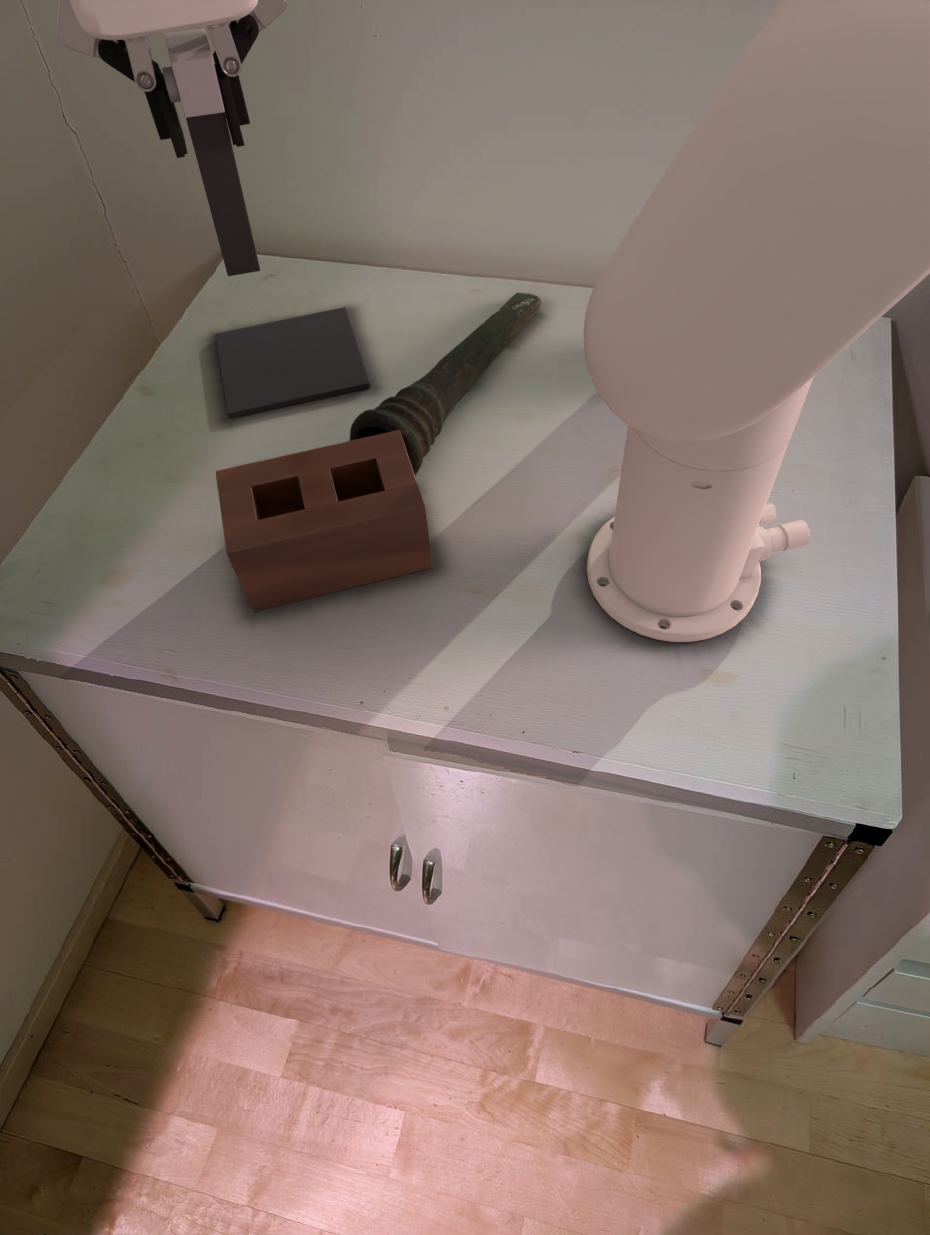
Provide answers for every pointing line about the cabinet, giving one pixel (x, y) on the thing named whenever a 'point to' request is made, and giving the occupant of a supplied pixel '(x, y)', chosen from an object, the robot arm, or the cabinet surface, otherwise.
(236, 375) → the mat
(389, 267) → the cabinet surface
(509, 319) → the tool
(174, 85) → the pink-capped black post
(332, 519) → the holder
